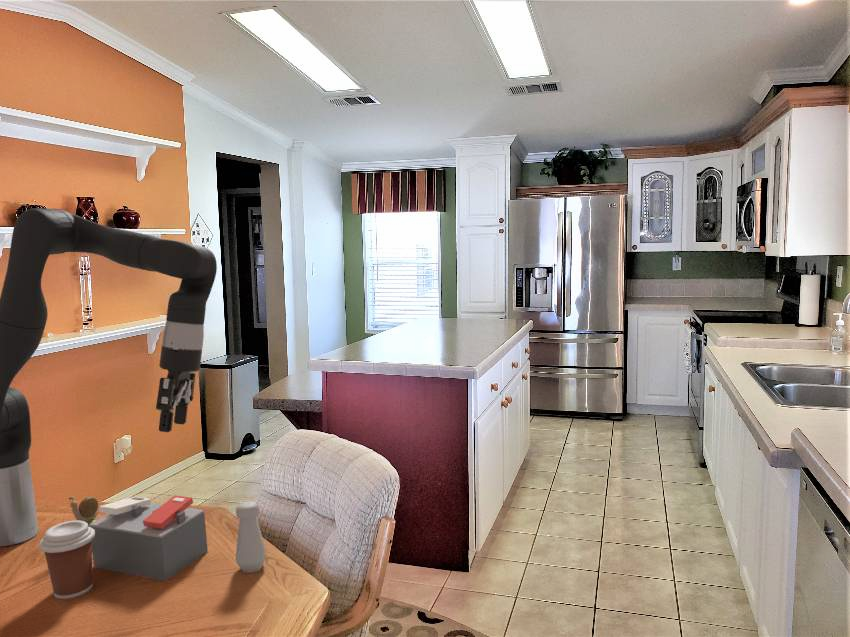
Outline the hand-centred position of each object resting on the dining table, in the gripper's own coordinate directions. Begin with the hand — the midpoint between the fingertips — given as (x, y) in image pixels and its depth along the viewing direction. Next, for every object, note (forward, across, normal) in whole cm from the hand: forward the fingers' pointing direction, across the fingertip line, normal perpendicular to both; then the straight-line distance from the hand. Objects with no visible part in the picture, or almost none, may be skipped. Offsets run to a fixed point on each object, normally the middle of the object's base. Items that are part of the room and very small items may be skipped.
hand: (172, 427), depth 128 cm
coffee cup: (+31, +6, -13) cm, 34 cm away
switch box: (+28, -4, -2) cm, 28 cm away
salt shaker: (+25, +2, +19) cm, 32 cm away
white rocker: (+18, -5, -9) cm, 21 cm away
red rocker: (+17, -1, +1) cm, 17 cm away
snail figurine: (+30, -12, -18) cm, 37 cm away
